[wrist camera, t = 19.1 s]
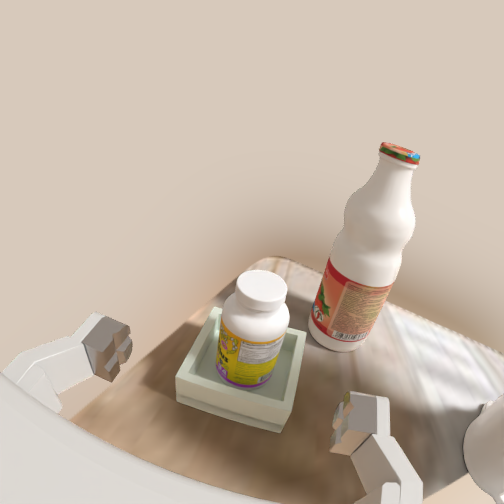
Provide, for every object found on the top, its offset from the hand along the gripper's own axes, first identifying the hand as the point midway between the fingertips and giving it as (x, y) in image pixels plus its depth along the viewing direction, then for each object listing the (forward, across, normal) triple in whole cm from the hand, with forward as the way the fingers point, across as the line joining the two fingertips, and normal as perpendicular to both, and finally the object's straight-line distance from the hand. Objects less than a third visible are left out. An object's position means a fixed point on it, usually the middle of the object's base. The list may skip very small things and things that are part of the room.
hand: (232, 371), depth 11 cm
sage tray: (+16, -1, -23) cm, 28 cm away
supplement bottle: (+16, -2, -21) cm, 27 cm away
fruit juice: (+30, +10, -24) cm, 39 cm away
